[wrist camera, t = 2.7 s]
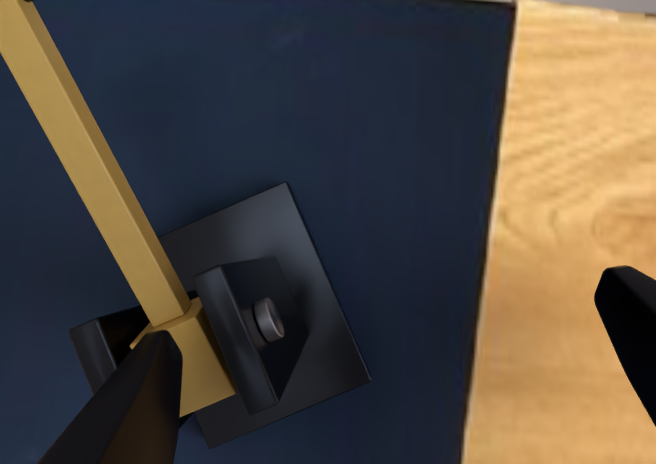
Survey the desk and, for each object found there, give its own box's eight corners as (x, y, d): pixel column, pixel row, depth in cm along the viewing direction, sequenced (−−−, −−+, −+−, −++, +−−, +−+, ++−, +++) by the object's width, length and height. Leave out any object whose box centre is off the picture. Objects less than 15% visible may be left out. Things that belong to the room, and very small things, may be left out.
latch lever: (-61, 16, 13) (-140, -12, 11) (87, -53, 13) (39, -96, 11) (157, 395, 16) (131, 438, 14) (281, 342, 16) (277, 376, 14)
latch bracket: (138, 250, 24) (-35, 255, 13) (289, 184, 24) (238, 133, 13) (216, 439, 23) (102, 605, 13) (370, 374, 23) (390, 487, 12)
